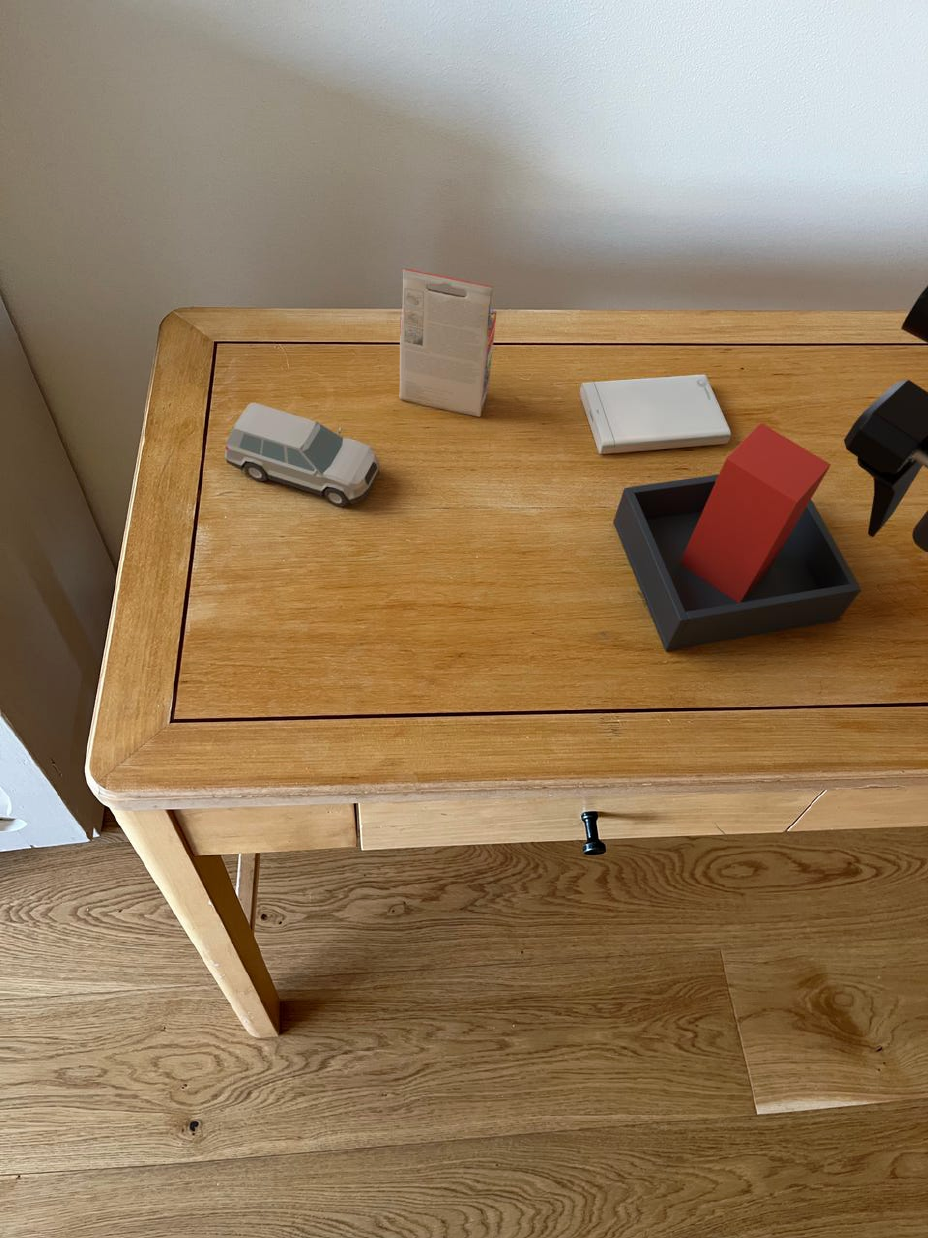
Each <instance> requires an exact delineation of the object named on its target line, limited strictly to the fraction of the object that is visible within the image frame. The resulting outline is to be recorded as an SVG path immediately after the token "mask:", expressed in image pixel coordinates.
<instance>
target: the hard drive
mask: <svg viewBox="0 0 928 1238" xmlns="http://www.w3.org/2000/svg"><path fill="white" fill-rule="evenodd" d="M579 397H580V400H581V402H582V406H583V409H584V413H585V415H586V417H587V421H588V424H589V428H590V429H591V433H592V436H593V440H594V443H595V446H596V449H597V452H598V453H599V455H607V454H619V453H632V452H643V451H654V450H656V451H657V450H666V449H667V450H668V449H679V448H692V447H702V446H716V445H717V446H718V445H727V444H728V443H729V441H730V440H731V437H732V436H731V435H732V432H731V429H730V427H729V424H728V423H727V420H726V417H725V416H724V413H723V411H722V408H721V406H720V404H719V402H718V400H717V397H716V395H715V393H714V391H713V389H712V386H711V384H710V381H709V379H708V377H707V375H706V374H705V373H704V374H691V375H677V376H675V375H674V376H663V377H660V376H659V377H647V378H646V377H645V378H634V379H620V380H617V379H616V380H605V381H594V382H592V381H591V382H582V383H581V385H580V389H579Z"/></svg>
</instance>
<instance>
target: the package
mask: <svg viewBox="0 0 928 1238" xmlns="http://www.w3.org/2000/svg"><path fill="white" fill-rule="evenodd" d="M831 466H832V464H831V463H829V462H828V461H826V460H825V459H823V458H821V457H820V456H818V455H816V454H815V453H813V452H811V451H809V450H808V449H806V448H804V447H803V446H801V445H799V444H798V443H796V442H794V441H792V440H791V439H789V438H788V437H786V436H785V435H782V434H781V433H779V432H777V431H776V430H774V429H773V428H771V427H769V426H768V425H766V424H764V423H763V422H760V423H758V425H757V426H756V427H755V428H754V429H753V430H752V431H751V432H750V433H749V434H748V435H747V436H746V437H745V438H744V439H743V440H742V441H741V443H740V444H739V445H737V446H736V448H734V450H733V451H732V452H731V453H729V454H728V455H727V457H726V458H725V460H724V462H723V465H722V467H721V469H720V471H719V473H718V474H719V476H718V478H717V480H716V483H715V485H714V487H713V489H712V492H711V494H710V496H709V498H708V501H707V503H706V505H705V507H704V510H703V512H702V514H701V516H700V519H699V521H698V523H697V526H696V528H695V530H694V532H693V535H692V537H691V539H690V541H689V544H688V546H687V548H686V550H685V553H684V555H683V557H682V559H681V562H680V564H681V565H682V566H684V567H685V568H687V569H688V570H690V571H691V572H693V573H694V574H696V575H697V576H699V577H700V578H702V579H703V580H705V581H706V582H708V583H709V584H711V585H712V586H713V587H715V588H716V589H718V590H719V591H721V592H722V593H724V594H725V595H727V596H728V597H730V598H731V599H733V600H734V601H736V602H737V603H741V602H742V601H743V600H744V599H745V597H746V596H747V595H748V594H749V593H750V592H751V590H752V589H753V588H754V587H755V586H756V585H757V583H758V582H759V581H760V580H761V579H762V578H763V576H764V575H765V574H766V573H767V572H768V571H769V569H770V568H771V566H772V565H773V563H774V561H775V559H776V558H777V556H778V554H779V553H780V551H781V549H782V547H783V546H784V544H785V542H786V541H787V539H788V537H789V536H790V534H791V532H792V530H793V529H794V527H795V525H796V524H797V522H798V520H799V518H800V517H801V515H802V513H803V512H804V510H805V508H806V507H807V505H808V503H809V501H810V500H812V498H813V496H814V495H815V493H816V492H817V489H818V487H819V486H820V484H821V483H822V481H823V479H824V478H825V476H826V474H827V472H828V471H829V469H830V467H831Z"/></svg>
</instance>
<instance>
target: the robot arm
mask: <svg viewBox="0 0 928 1238" xmlns="http://www.w3.org/2000/svg"><path fill="white" fill-rule="evenodd" d="M900 329H901V330H902V331H904V332H906V333H908V334H910V335H912V336H913V337H915V338H918V339H919V340H921V341H923V342H924V343H927V344H928V285H926V287H925V288H924V289H923V290H922V292H921V293H920V294H919V296H918V298H917V299H916V301H915V302H914V304H913V306H912V307H911V309H910V310H909V312H908V314H907V316H906V317H905V319H904V321H903V323H902V325H901V327H900ZM843 442H844V446H845V449H846V450H847V452H850V453H851V454H852V455H854V456H856V462H857V465H858V466H859V467H860V468H861V469H863V470H864V471H866V473H868V474H869V475H870V477H872V478H873V500H872V505H871V512H870V516H869V524H868V529H867V530H868V531H867V535H868V536H870V537H871V538H873V537H875V536H876V534H878V533H879V532H880V530H881V529H882V528H883V527H884V526H885V524H886V523H887V522H888V521H889V520H890V518H891V517H892V516H893V514H894V513H895V512H896V509H897V508H898V506H899V505H900V503H901V501H902V500H903V499H904V496H905V495H906V493H907V492H908V490H909V488H910V487H911V485H912V484H913V482H914V480H915V479H916V478H917V476H918V474H919V472H920V471H921V469H922V468H923V467H925V468H926V469H928V391H927V390H926V389H924V388H923V387H921V386H920V385H918V384H916V383H914V382H913V381H911V380H910V379H906V380H901V381H898V382H895V383H893V384H891V386H890V387H889V388H888V389H887V390H886V391H884V392H883V393H882V394H881V395H880V396H879V397H878V398H877V399H876V400H874V401H873V403H871V404H870V405H869V406H868V407H867V408H865V410H864V411H863V412H862V413H861V414H860V415H859V417H858V418H857V419H856V421H855V422H854V423H853V425H852V426H851V427H850V430H849V431H848V433H846V435H845V437H844V438H843ZM911 533H912V535H911V536H912V540H913V542H914V544H915V545H916V546H917V547H918V548H919V549H921V550H922V551H923V552H925V553H928V509H927V510H926V512H925V513H924V515H923V516H922V517H921V518H920V519H919V521H918V522H917V523H916V524H915V526H914V527H913V530H912V532H911Z"/></svg>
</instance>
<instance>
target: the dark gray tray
mask: <svg viewBox="0 0 928 1238" xmlns="http://www.w3.org/2000/svg"><path fill="white" fill-rule="evenodd" d="M719 474H720V473H717V474H712V475H705V476H696V477H691V478H690V477H689V478H683V479H676V480H670V481H662V482H655V483H647V484H641V485H640V484H639V485H634V486H628V487H624V488H623V490H622V494H621V497H620V500H619V502H618V503H619V504H618V506H617V509H616V513H615V516H614V518H613V525H614V527H615V530H616V532H617V535H618V538H619V541H620V543H621V545H622V548H623V550H624V552H625V555H626V558H627V560H628V562H629V565H630V567H631V570H632V572H633V576H634V577H635V579H636V583H637V584H638V587H639V590H640V592H641V594H642V597H643V600H644V602H645V604H646V607H647V609H648V612H649V614H650V617H651V619H652V621H653V624H654V627H655V629H656V631H657V633H658V636H659V639H660V642H661V644H662V647H663V649H664V651H665V652H670V651H675V650H681V649H686V648H687V649H688V648H693V647H698V646H703V645H710V644H715V643H721V642H728V641H732V640H738V639H743V638H749V637H754V636H760V635H765V634H772V633H778V632H783V631H788V630H795V629H800V628H805V627H810V626H816V625H822V624H823V625H824V624H828V623H833V622H839V621H840V619H841V617H842V616H843V615H844V614H845V612H846V611H847V610H848V609H849V607H850V606H851V605H852V604H853V602H854V600H856V598H857V597H858V595H859V594H860V592H861V591H862V588H861V586H860V584H859V582H858V581H857V579H856V577H855V576H854V573H853V571H852V570H851V568H850V566H849V565H848V563H847V560H846V559H845V557H844V555H843V554H842V552H841V550H840V548H839V546H838V545H837V542H836V541H835V540H834V537H833V536H832V534H831V532H830V531H829V528H828V527H827V525H826V523H825V521H824V520H823V518H822V515H821V514H820V511H818V509H817V507H816V505H815V503H814V501H813V500H812V499H811V500H810V501H809V503H808V505H807V507H806V508H805V510H804V512H803V513H802V515H801V517H800V518H799V520H798V522H797V524H796V525H795V527H794V529H793V530H792V532H791V534H790V536H789V537H788V539H787V541H786V542H785V544H784V546H783V547H782V549H781V551H780V553H779V554H778V556H777V558H776V559H775V561H774V563H773V565H772V566H771V568H770V569H769V571H768V572H767V573H766V574H765V575H764V576H763V578H762V579H761V580H760V581H759V582H758V583H757V585H756V586H755V587H754V588H753V589H752V590H751V592H750V593H749V594H748V595H747V596H746V597H745V599H744V600H743V601H742V602H741V603H737V602H736V601H734V600H733V599H731V598H730V597H728V596H727V595H725V594H724V593H722V592H721V591H719V590H718V589H716V588H715V587H713V586H712V585H711V584H709V583H708V582H706V581H705V580H703V579H702V578H700V577H699V576H697V575H696V574H694V573H693V572H691V571H690V570H688V569H687V568H685V567H684V566H682V565H681V564H680V562H681V559H682V557H683V555H684V553H685V550H686V548H687V546H688V544H689V541H690V539H691V537H692V535H693V532H694V530H695V528H696V526H697V523H698V521H699V519H700V516H701V514H702V512H703V510H704V507H705V505H706V503H707V501H708V498H709V496H710V494H711V492H712V489H713V487H714V485H715V483H716V480H717V478H718V476H719Z"/></svg>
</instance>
